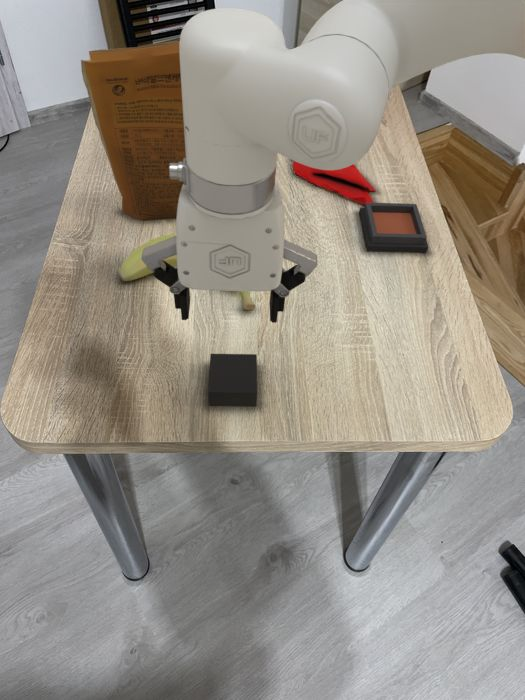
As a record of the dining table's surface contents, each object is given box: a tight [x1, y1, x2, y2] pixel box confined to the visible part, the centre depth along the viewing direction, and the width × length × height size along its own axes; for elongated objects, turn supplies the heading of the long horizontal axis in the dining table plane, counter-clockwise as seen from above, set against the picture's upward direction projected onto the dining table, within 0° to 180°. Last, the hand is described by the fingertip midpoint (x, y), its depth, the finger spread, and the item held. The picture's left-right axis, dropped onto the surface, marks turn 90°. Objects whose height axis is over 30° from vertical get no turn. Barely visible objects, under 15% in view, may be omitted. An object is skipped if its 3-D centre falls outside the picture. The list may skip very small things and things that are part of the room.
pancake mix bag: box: [80, 40, 186, 222], centre depth 81 cm, size 7×19×28 cm, turn 100°
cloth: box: [292, 161, 376, 206], centre depth 101 cm, size 26×14×2 cm, turn 10°
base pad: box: [358, 202, 429, 254], centre depth 90 cm, size 10×10×3 cm
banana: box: [117, 233, 256, 311], centre depth 80 cm, size 14×6×20 cm
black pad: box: [208, 353, 258, 407], centre depth 69 cm, size 6×6×3 cm
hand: (229, 311), depth 60 cm, fingers open, 9 cm apart
